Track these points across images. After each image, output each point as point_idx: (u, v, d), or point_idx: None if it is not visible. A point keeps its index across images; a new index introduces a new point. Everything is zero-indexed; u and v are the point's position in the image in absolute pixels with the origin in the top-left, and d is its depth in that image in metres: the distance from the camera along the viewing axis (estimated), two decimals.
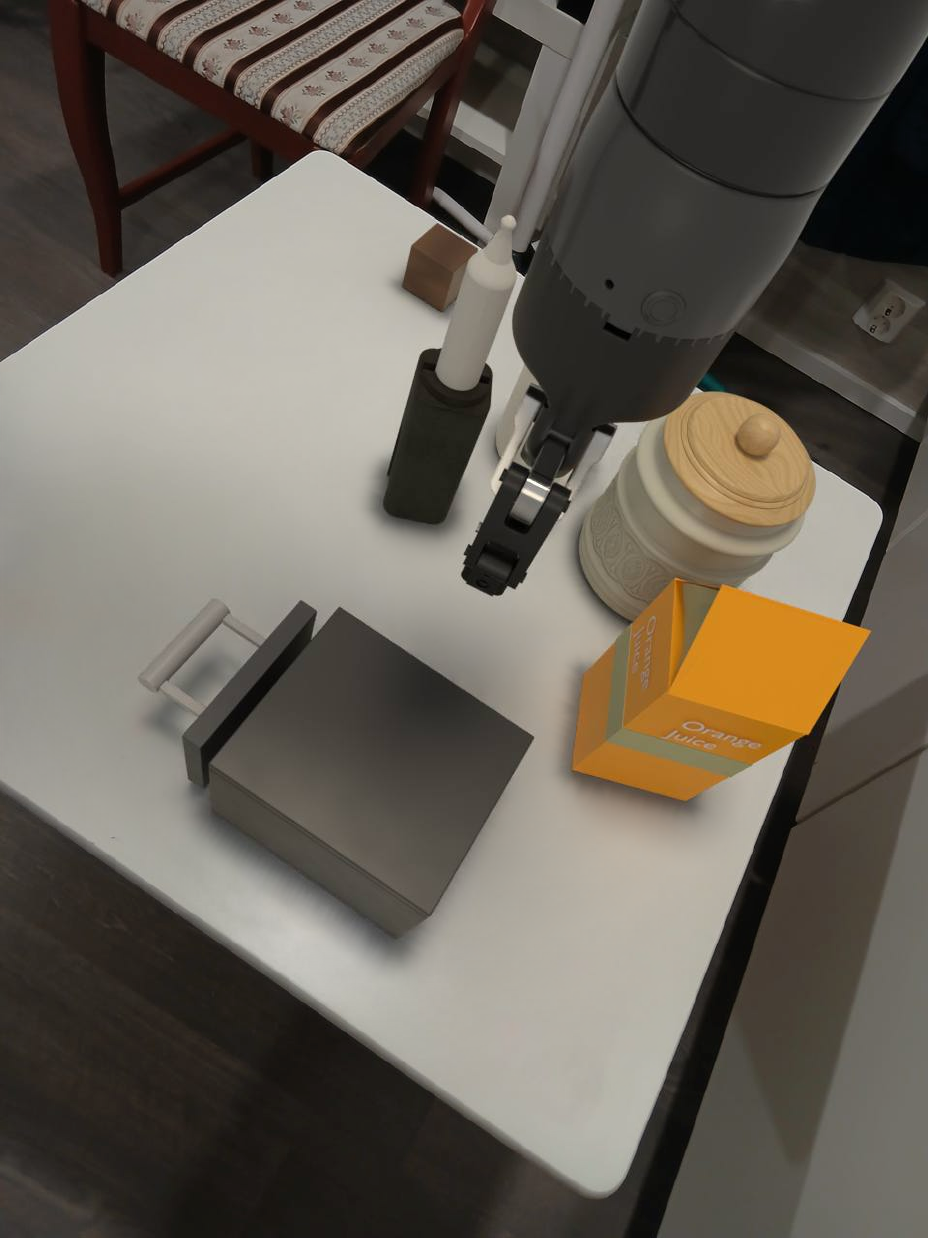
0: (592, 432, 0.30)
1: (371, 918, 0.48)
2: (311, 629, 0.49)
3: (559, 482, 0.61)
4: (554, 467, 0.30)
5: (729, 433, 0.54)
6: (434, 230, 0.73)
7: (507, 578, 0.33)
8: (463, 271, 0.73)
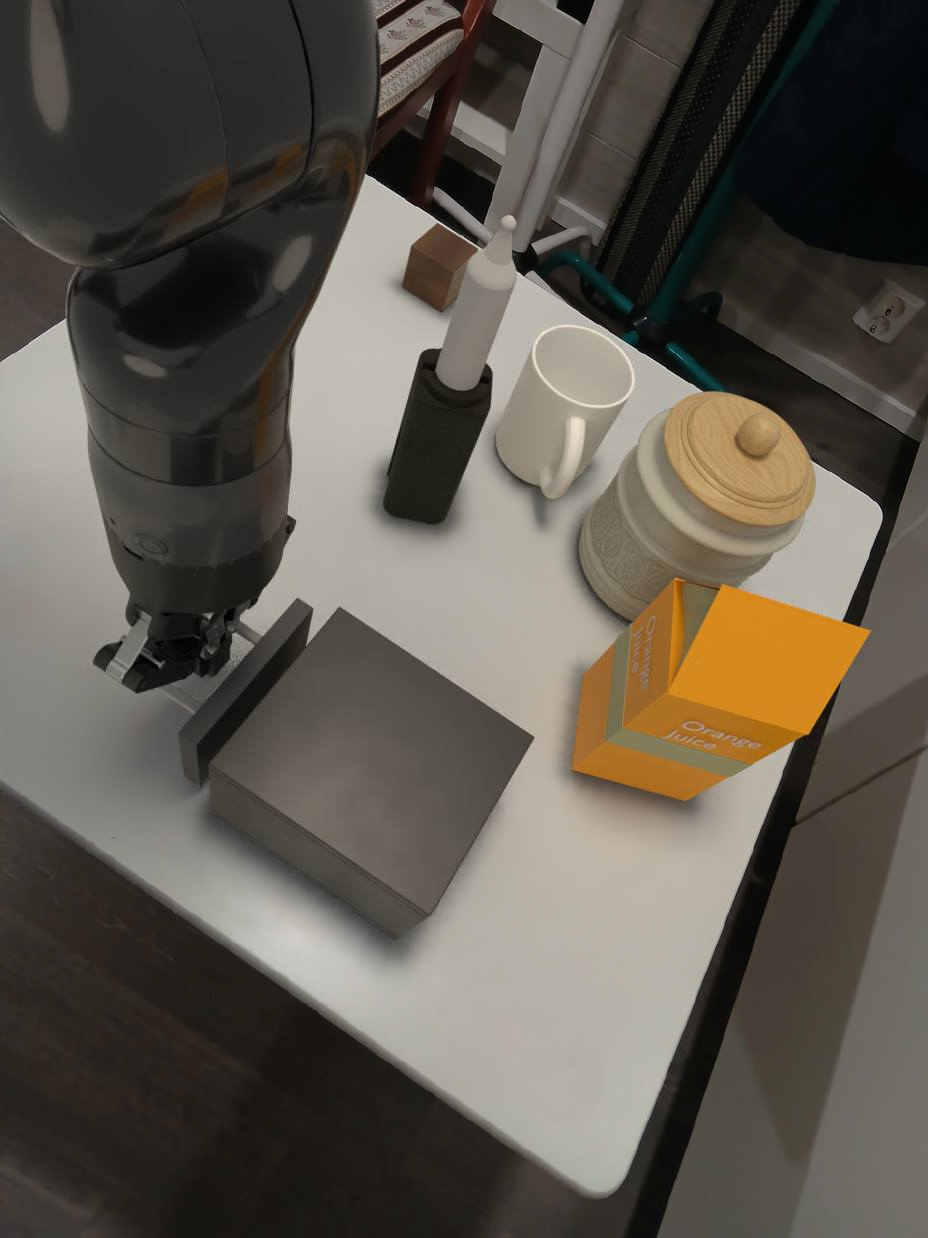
0: (166, 616, 0.36)
1: (371, 918, 0.48)
2: (307, 627, 0.49)
3: (559, 482, 0.61)
4: (133, 654, 0.37)
5: (729, 433, 0.54)
6: (434, 230, 0.73)
7: None
8: (463, 271, 0.73)
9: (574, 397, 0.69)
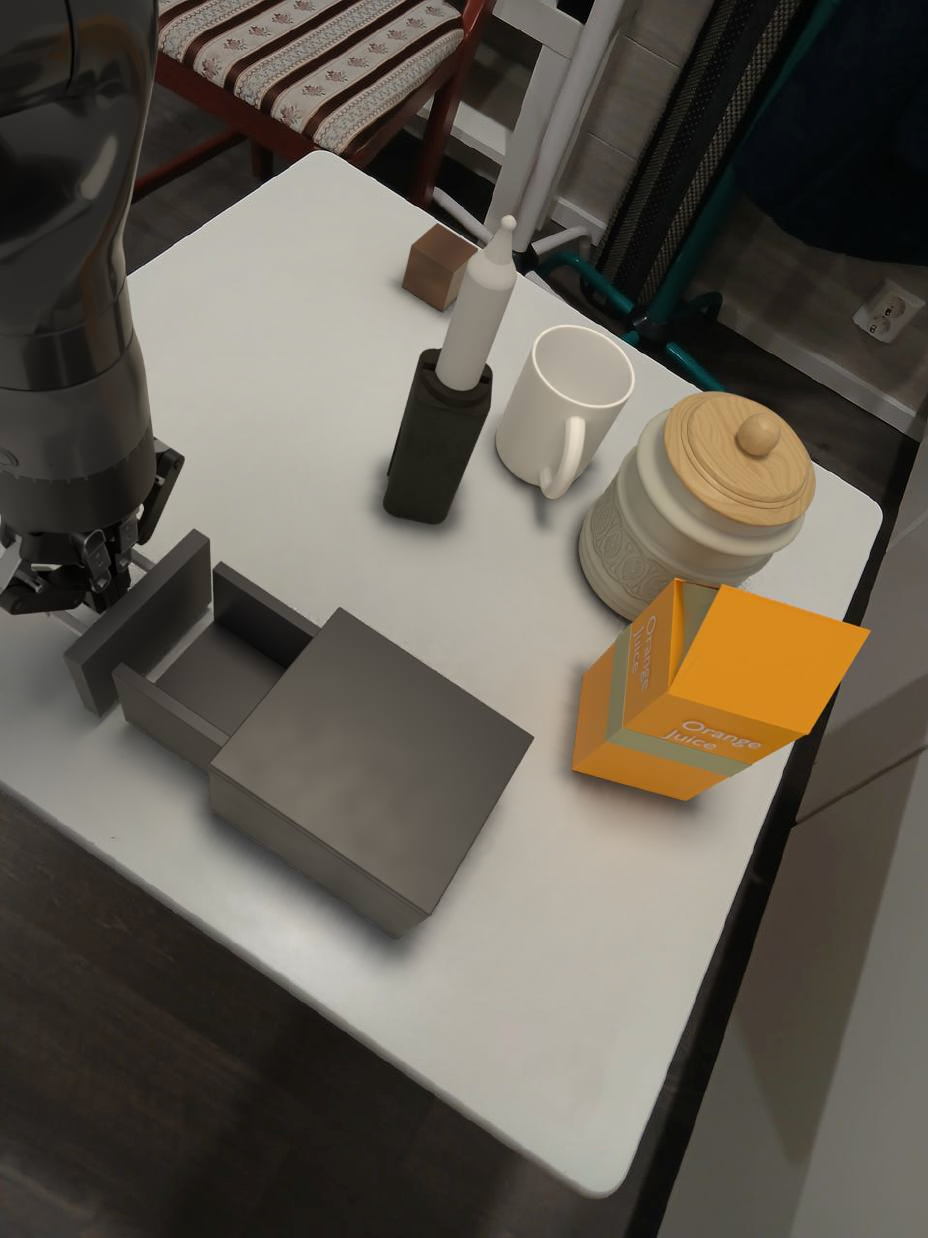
0: (35, 536, 0.37)
1: (371, 918, 0.48)
2: (207, 559, 0.50)
3: (559, 482, 0.61)
4: (8, 576, 0.38)
5: (729, 433, 0.54)
6: (434, 230, 0.73)
7: None
8: (463, 271, 0.73)
9: (574, 397, 0.69)
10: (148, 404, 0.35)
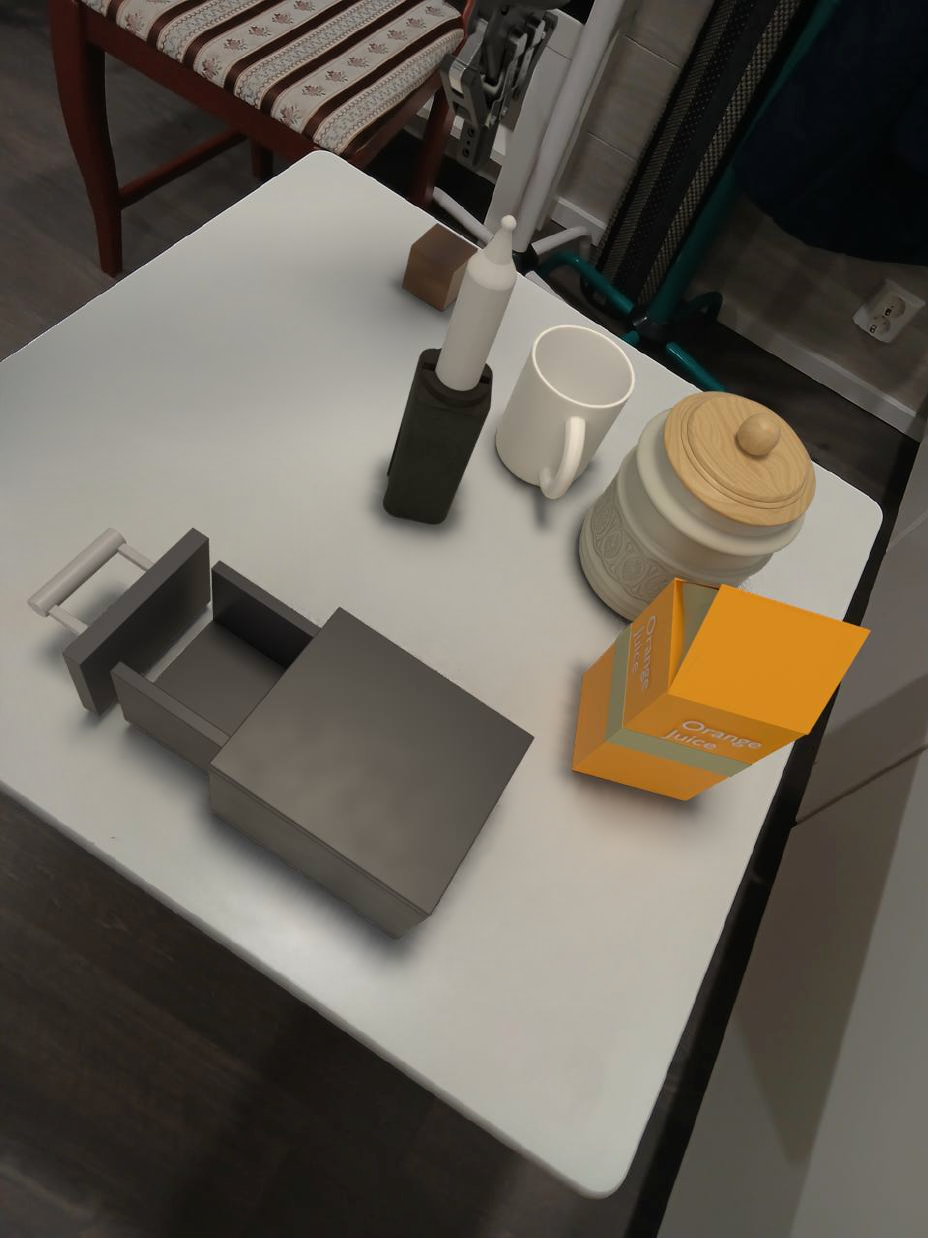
0: (501, 14, 0.51)
1: (371, 918, 0.48)
2: (206, 558, 0.50)
3: (559, 482, 0.61)
4: (471, 55, 0.52)
5: (729, 433, 0.54)
6: (434, 230, 0.73)
7: (472, 122, 0.57)
8: (463, 271, 0.73)
9: (574, 397, 0.69)
10: None
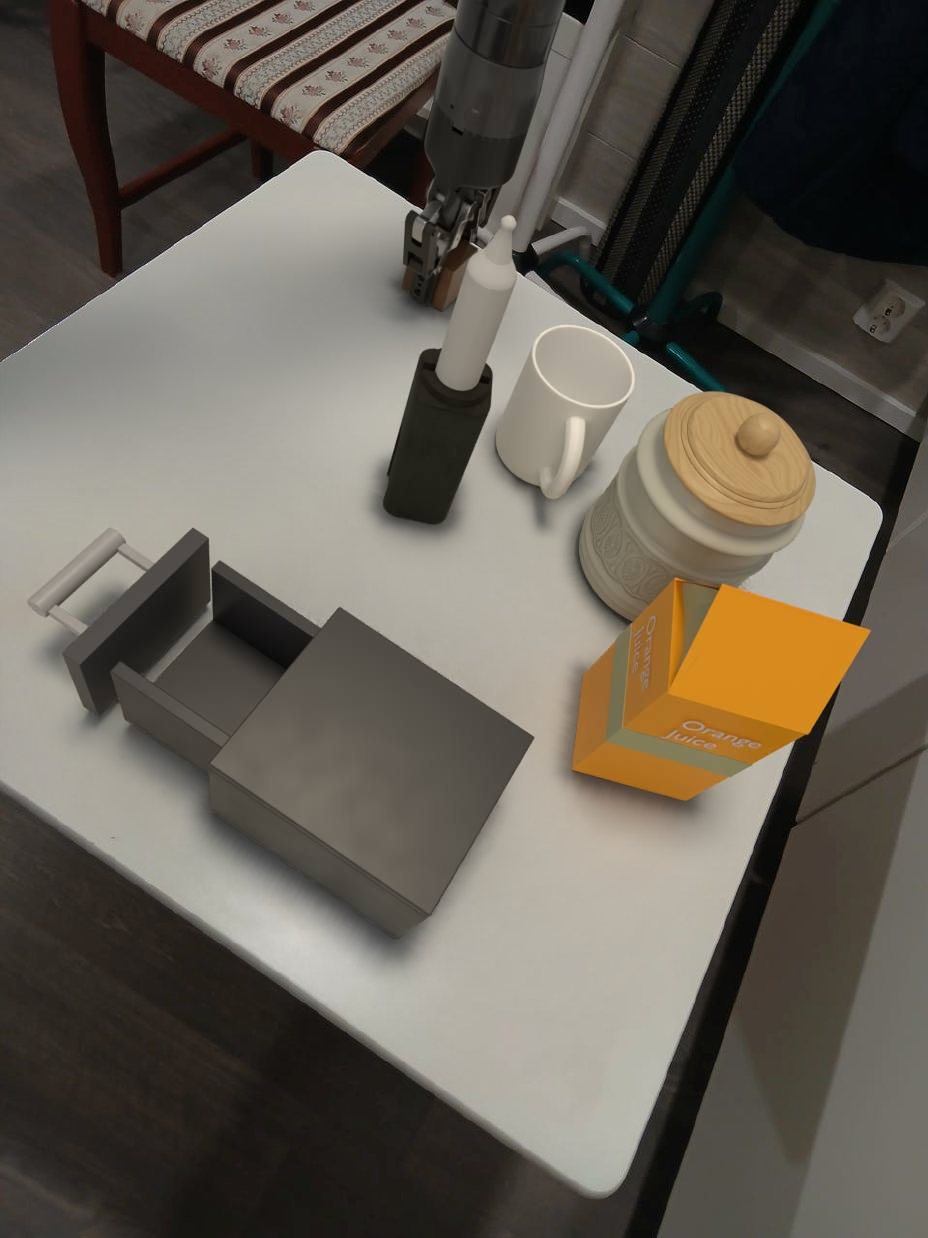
0: (455, 192, 0.64)
1: (371, 918, 0.48)
2: (206, 558, 0.50)
3: (559, 482, 0.61)
4: (432, 213, 0.64)
5: (729, 433, 0.54)
6: None
7: (421, 272, 0.69)
8: (463, 271, 0.73)
9: (574, 397, 0.69)
10: None
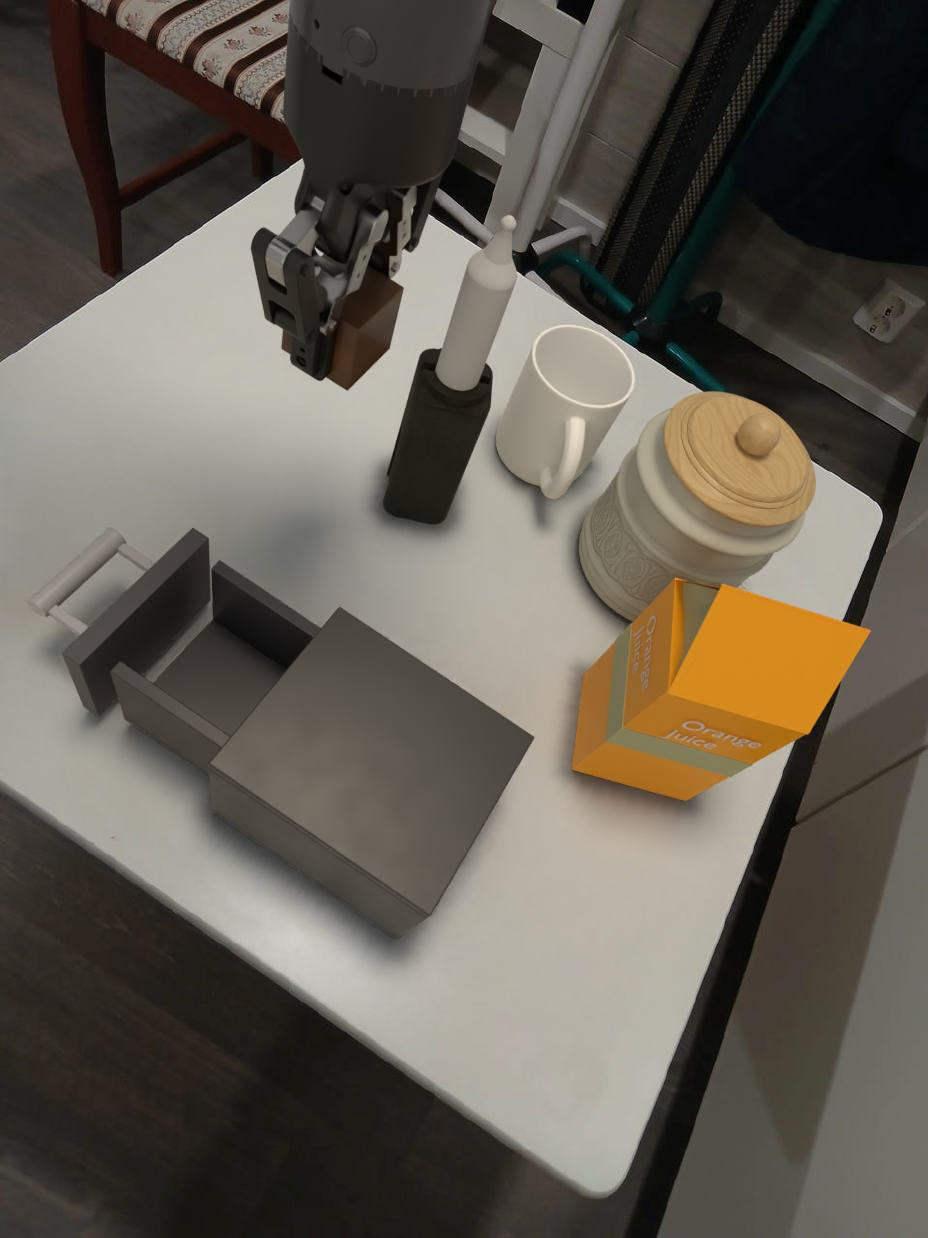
0: (342, 194, 0.34)
1: (371, 918, 0.48)
2: (206, 558, 0.50)
3: (559, 482, 0.61)
4: (300, 234, 0.35)
5: (729, 433, 0.54)
6: (329, 257, 0.43)
7: (297, 334, 0.39)
8: (379, 325, 0.44)
9: (574, 397, 0.69)
10: None
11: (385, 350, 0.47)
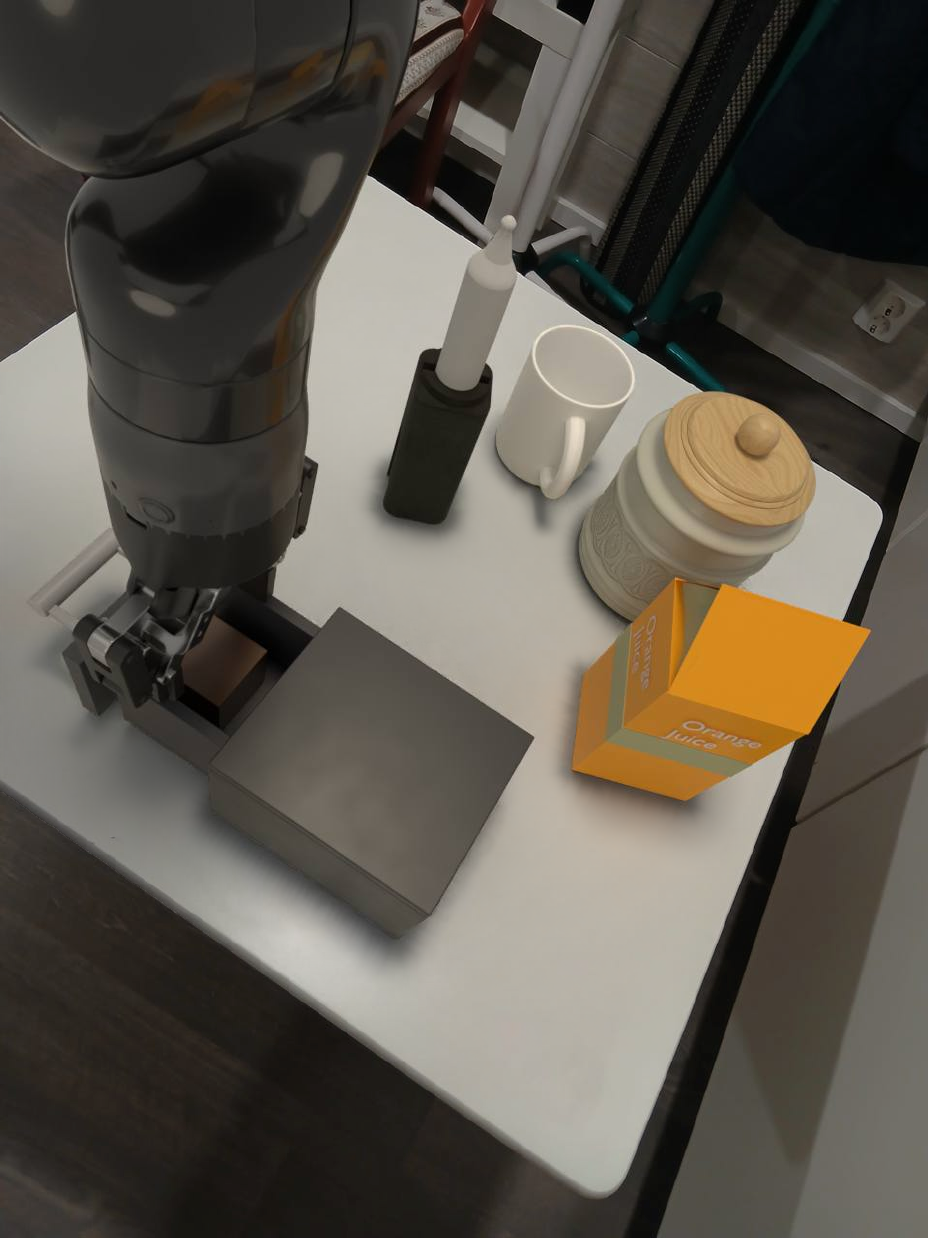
0: (170, 591, 0.34)
1: (371, 918, 0.48)
2: None
3: (559, 482, 0.61)
4: (128, 622, 0.33)
5: (729, 433, 0.54)
6: None
7: (126, 699, 0.37)
8: (244, 685, 0.48)
9: (574, 397, 0.69)
10: None
11: (259, 685, 0.51)
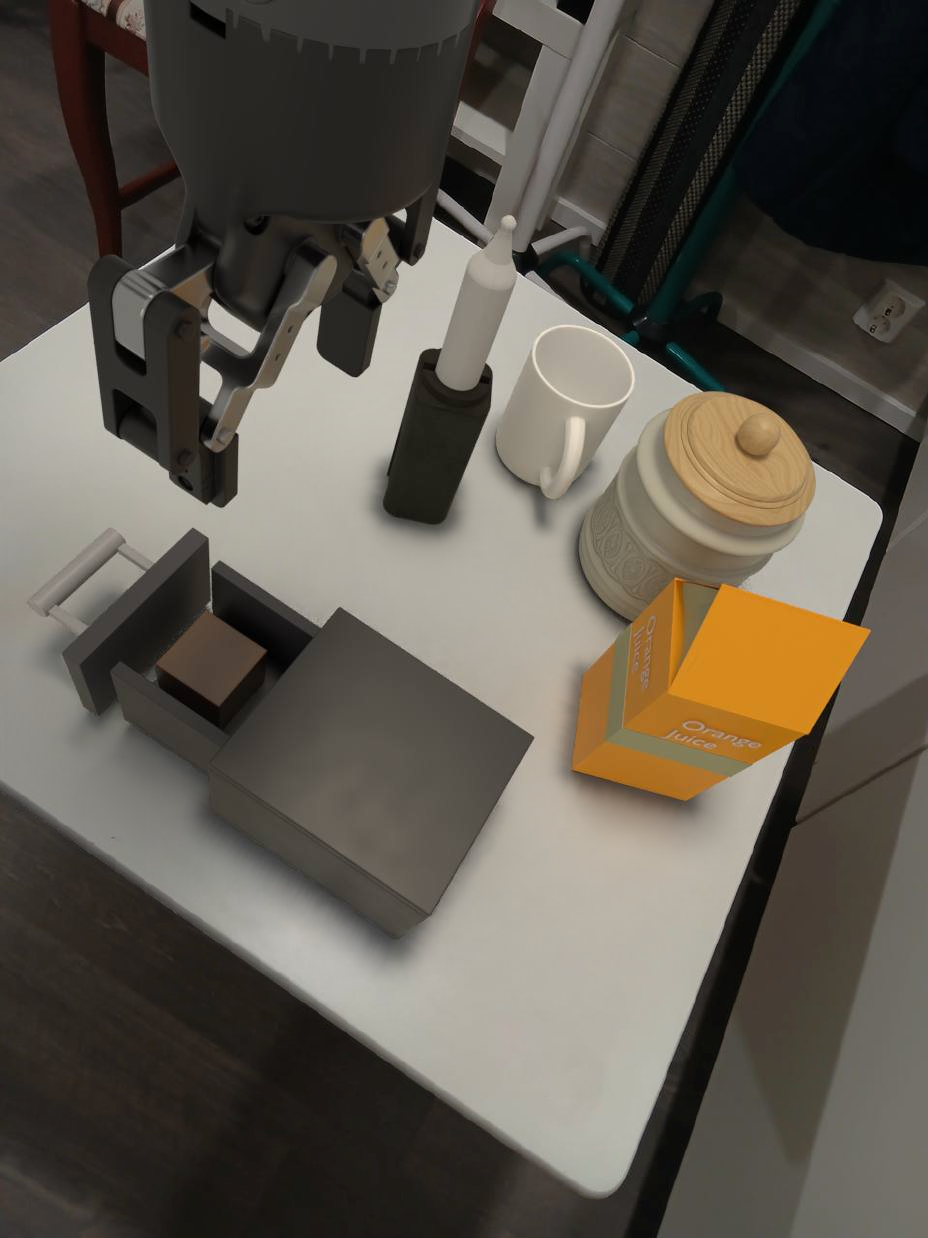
0: (249, 233, 0.20)
1: (371, 918, 0.48)
2: (206, 558, 0.50)
3: (559, 482, 0.61)
4: (182, 274, 0.20)
5: (729, 433, 0.54)
6: (198, 626, 0.48)
7: (158, 454, 0.23)
8: (244, 685, 0.48)
9: (574, 397, 0.69)
10: None
11: (259, 685, 0.51)
